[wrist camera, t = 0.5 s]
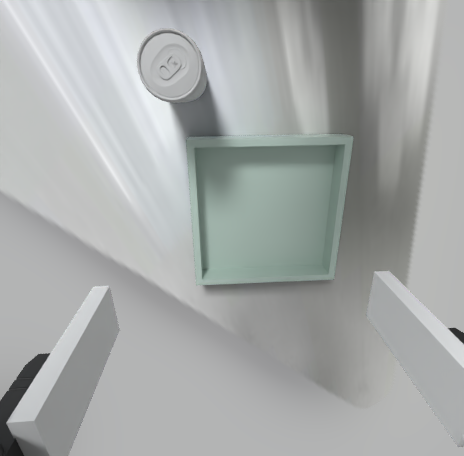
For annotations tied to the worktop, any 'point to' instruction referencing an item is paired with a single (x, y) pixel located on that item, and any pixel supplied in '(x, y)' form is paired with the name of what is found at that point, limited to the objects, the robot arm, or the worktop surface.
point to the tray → (267, 206)
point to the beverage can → (171, 66)
